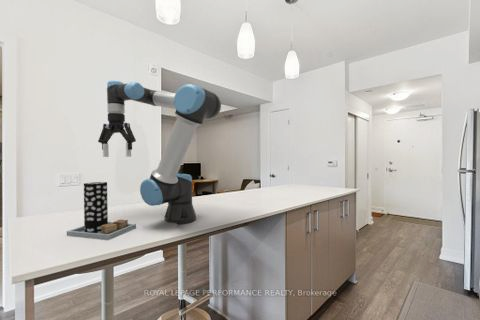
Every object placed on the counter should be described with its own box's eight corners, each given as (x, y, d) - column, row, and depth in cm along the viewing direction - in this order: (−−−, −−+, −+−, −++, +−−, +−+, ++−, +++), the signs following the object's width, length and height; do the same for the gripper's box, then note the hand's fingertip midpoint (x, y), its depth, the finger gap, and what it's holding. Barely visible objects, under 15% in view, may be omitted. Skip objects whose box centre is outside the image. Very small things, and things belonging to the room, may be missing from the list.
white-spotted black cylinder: (82, 231, 98) (81, 183, 98) (104, 226, 104) (103, 181, 104) (87, 235, 92) (86, 184, 92) (110, 230, 98) (109, 183, 98)
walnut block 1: (117, 234, 94) (116, 224, 94) (107, 237, 90) (106, 227, 90) (111, 232, 96) (110, 223, 96) (101, 235, 92) (100, 225, 92)
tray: (136, 229, 102) (135, 224, 102) (108, 242, 87) (108, 235, 87) (98, 226, 107) (98, 221, 107) (66, 237, 93) (66, 231, 93)
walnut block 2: (127, 229, 100) (127, 219, 100) (122, 232, 96) (122, 222, 96) (118, 228, 101) (118, 219, 101) (113, 231, 97) (112, 222, 97)
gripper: (142, 113, 116) (143, 156, 117) (102, 116, 123) (102, 156, 123) (132, 110, 109) (133, 156, 110) (89, 113, 116) (90, 156, 116)
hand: (117, 156), depth 117 cm, fingers open, 13 cm apart
